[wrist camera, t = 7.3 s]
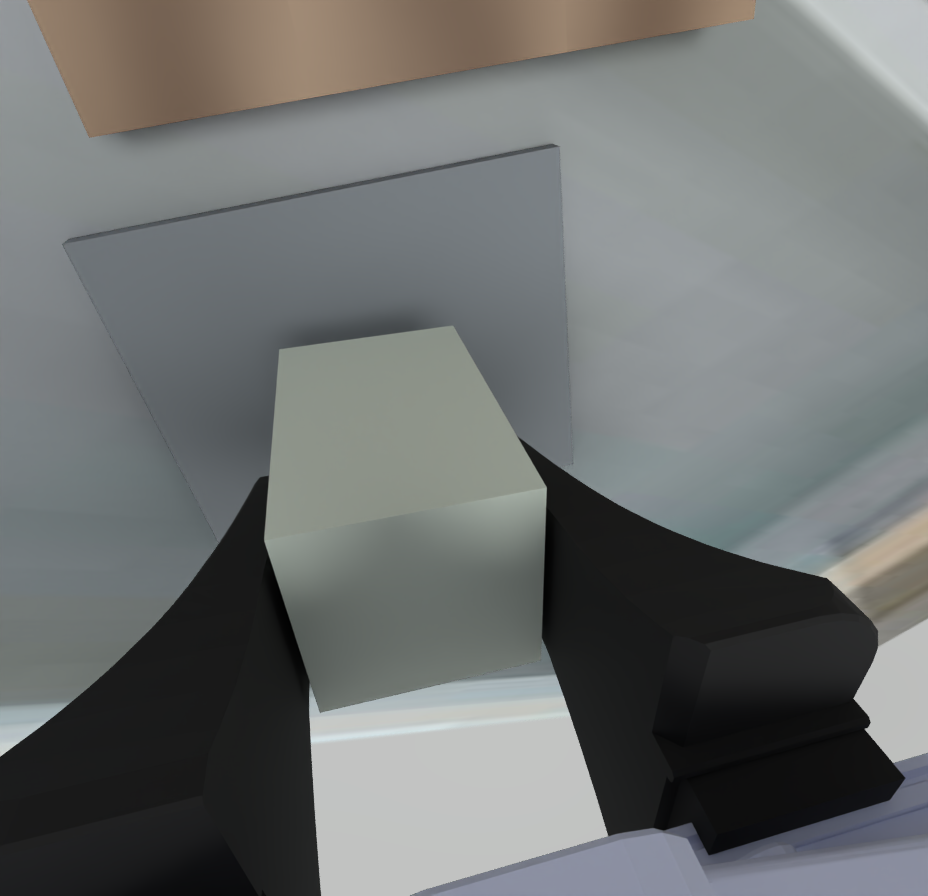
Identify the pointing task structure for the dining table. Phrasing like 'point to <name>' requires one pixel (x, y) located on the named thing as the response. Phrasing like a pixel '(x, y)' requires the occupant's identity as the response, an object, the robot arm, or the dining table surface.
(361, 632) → the sage part
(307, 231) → the rubber mat
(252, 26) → the pocket block
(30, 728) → the dining table surface
